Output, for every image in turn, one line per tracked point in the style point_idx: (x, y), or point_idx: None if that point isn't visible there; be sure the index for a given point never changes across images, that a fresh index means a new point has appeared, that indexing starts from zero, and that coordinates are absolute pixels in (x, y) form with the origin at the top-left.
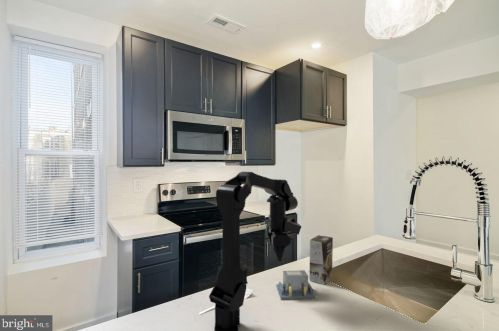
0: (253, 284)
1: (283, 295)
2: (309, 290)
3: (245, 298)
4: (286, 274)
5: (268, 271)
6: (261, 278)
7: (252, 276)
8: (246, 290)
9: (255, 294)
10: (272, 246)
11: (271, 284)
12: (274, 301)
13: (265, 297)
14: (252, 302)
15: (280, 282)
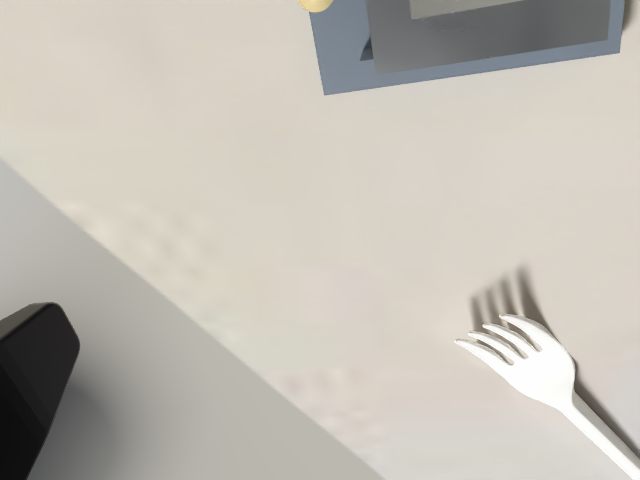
0: (312, 285)
1: None
2: None
3: (554, 337)
4: (522, 18)
5: (16, 161)
6: (186, 224)
7: (170, 292)
8: (466, 346)
9: (487, 271)
10: (28, 471)
11: (287, 136)
12: (635, 114)
13: (547, 194)
14: (619, 291)
15: (373, 63)
